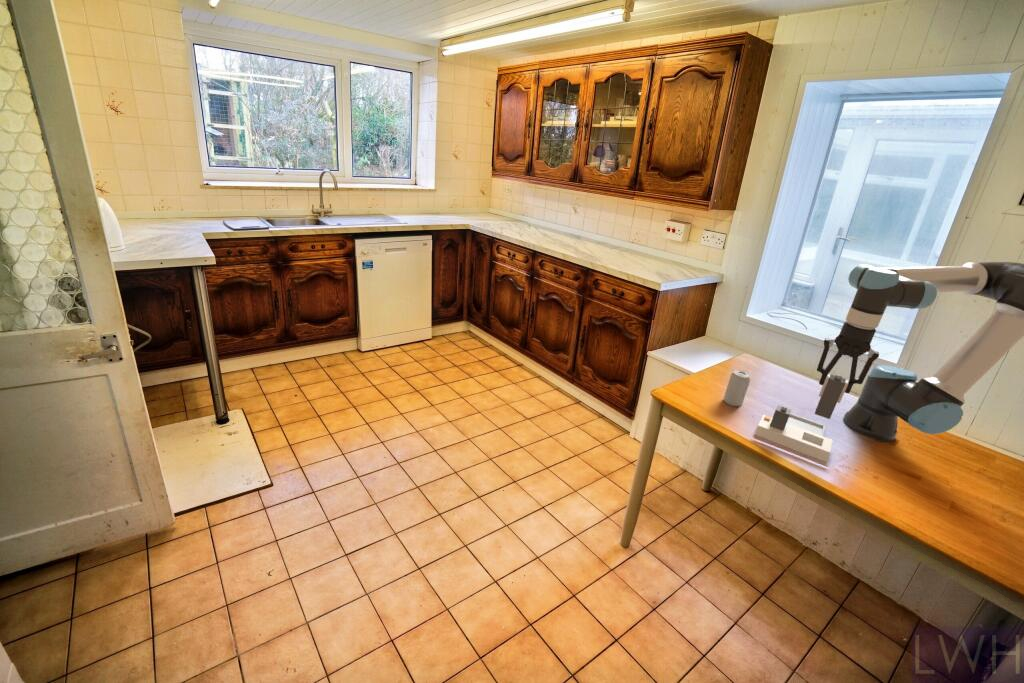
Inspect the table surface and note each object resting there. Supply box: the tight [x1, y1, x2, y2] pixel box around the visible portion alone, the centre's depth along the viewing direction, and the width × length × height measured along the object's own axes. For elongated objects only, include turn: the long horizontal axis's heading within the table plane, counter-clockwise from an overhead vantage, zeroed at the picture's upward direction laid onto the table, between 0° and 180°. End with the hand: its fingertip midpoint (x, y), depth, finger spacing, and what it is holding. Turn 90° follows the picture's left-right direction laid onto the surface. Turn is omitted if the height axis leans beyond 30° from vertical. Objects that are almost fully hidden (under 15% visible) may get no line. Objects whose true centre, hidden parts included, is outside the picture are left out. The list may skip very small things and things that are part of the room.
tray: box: [787, 412, 826, 436], centre depth 160 cm, size 12×10×2 cm
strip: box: [754, 405, 833, 463], centre depth 148 cm, size 20×9×11 cm, turn 53°
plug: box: [814, 373, 847, 420], centre depth 140 cm, size 4×4×13 cm
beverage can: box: [723, 369, 751, 408], centre depth 169 cm, size 6×6×12 cm
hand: (829, 397), depth 141 cm, fingers closed on plug, 4 cm apart
